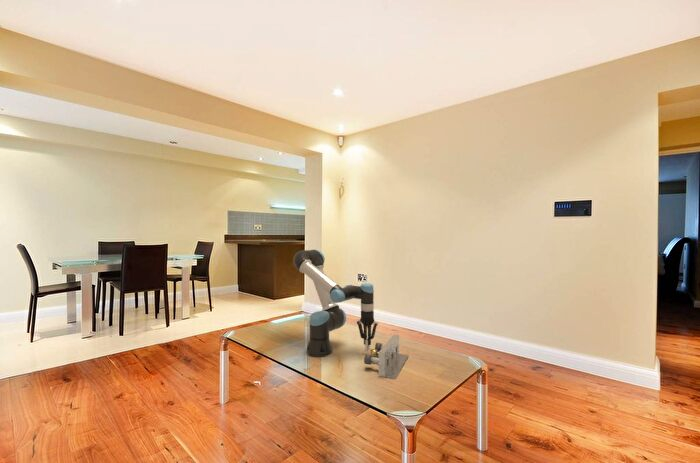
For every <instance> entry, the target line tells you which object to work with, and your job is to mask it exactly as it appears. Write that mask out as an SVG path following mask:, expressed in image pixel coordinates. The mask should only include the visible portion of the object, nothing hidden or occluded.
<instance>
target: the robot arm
mask: <svg viewBox="0 0 700 463" xmlns="http://www.w3.org/2000/svg"><path fill="white" fill-rule="evenodd" d="M292 258H293V259H292V260H293V262H292V263H293V265H294V267H295V268H296V270H297V271H299V272H300V273H302V274H305V275H306V277H308V278H309V279H311V280H312V282H313V284H314V287H315V290H316V294H317V297H318V299H319V301H320V305H321V307H322V309H321V310H319V311H318V310H317V311H314V312H313V313H311V314H310V316H309V322H308V323H309V341H308V344H307V348H306V354H307V353H308V354H309V355H308V354H307V355H308V356H310V355H312V356H311V357H314V356H323V357H327V356H329V354H330V355H331V354H332V353H333V347H332V344H331V340H330V332H332V331H335V330H338V329H340V328H342V327H343V326H344V325H345V324H346V321H347V314H346V312H345V311H344V310H343V309H342V308H340V306H339V303H342V302H346V301H349V300H352V299H356V300H360V318H359V319H358V320H357V321H356V324H357V325H358V332H359V336H360V338H361V339H363V345H364V347H365V352H369V351H370V346H371V344H372V340H373V339H375V335H376V331H377V330H376V329H377V328H378V327H377V326H379V323H378V322H376V321H375V317H374V315H375V314H374V310H375V306H374V303H375V302H374V298H375V296H374V295H375V294H374V292H375V291H374V284H373V283H369V282H368V283H366V282H365V283H364V282H363V283H361V284H360V286H359V285H353V284H347V285H345V286H343V287H342V286H340V285H339V284H338V283H336V282H335V281H334V280H333V279H331V278H330V277H329V276H328V275H327V274H325V272H324V267H325V266H324V265H325V260H326V258H325V255H324V253H323V252H322V251H320V250H317V249H305V250H299V251H297V252H296V253H295V254H294V256H293V257H292ZM372 325H373V328H372ZM326 355H327V356H326Z"/></svg>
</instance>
